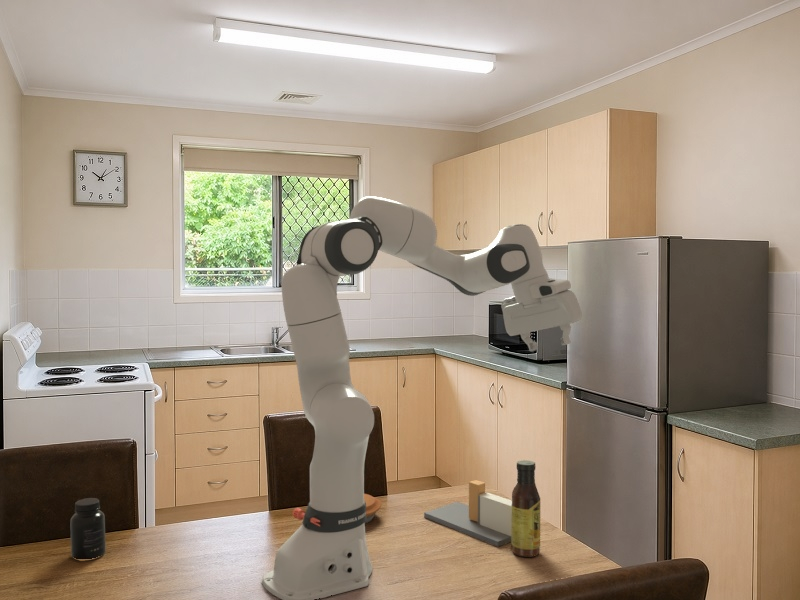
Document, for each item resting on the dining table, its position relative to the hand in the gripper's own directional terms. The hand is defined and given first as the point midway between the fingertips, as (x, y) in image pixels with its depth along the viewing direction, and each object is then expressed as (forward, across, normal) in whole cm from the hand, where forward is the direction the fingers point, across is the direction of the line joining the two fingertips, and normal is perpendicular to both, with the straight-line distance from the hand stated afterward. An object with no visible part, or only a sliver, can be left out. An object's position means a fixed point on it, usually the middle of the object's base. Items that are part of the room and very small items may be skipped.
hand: (549, 347), depth 162 cm
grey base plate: (+37, -23, -18) cm, 47 cm away
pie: (+28, -46, -37) cm, 65 cm away
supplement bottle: (+13, -66, -91) cm, 113 cm away
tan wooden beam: (+35, -22, -18) cm, 45 cm away
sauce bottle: (+40, -5, -23) cm, 47 cm away
